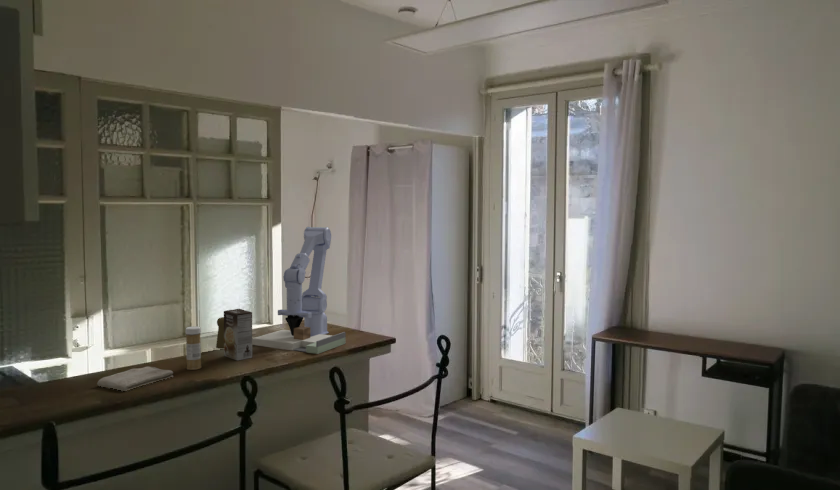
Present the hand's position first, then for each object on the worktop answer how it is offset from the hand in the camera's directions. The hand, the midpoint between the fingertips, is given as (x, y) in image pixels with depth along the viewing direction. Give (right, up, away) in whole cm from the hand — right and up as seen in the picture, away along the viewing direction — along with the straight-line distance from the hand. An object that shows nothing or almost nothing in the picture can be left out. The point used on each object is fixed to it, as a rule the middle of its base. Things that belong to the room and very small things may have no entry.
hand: (294, 335), depth 228 cm
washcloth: (-36, -7, -50) cm, 62 cm away
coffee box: (-15, -5, -20) cm, 26 cm away
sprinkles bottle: (-25, -6, -35) cm, 44 cm away
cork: (-25, -4, -5) cm, 26 cm away
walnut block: (+3, -1, -2) cm, 4 cm away
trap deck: (+2, -3, -1) cm, 4 cm away
